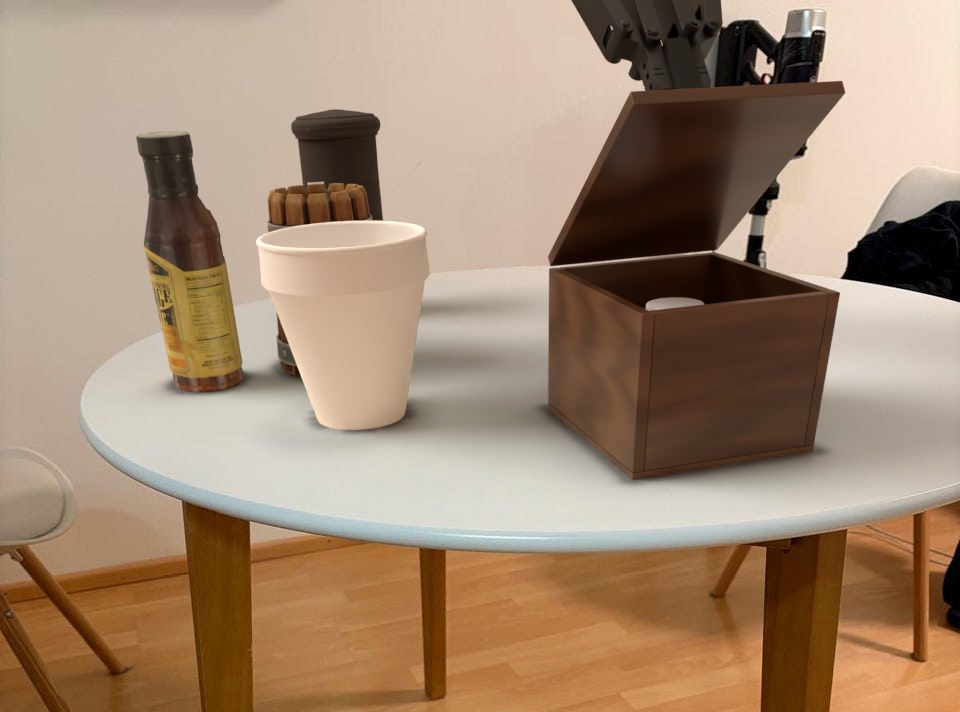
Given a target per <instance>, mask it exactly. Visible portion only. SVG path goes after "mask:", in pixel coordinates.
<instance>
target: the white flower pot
mask: <svg viewBox="0 0 960 712" xmlns="http://www.w3.org/2000/svg"><path fill="white" fill-rule="evenodd" d="M427 237H428V232H427V229H426V228H425V227H424V226H421V225H418V224H416V223H410V222H405V221H394V220H383V221H340V222H326V223H315V224H307V225H300V226H293V227H288V228H283V229H279V230H275V231H272V232H268V231H267V232H266V233H264V234H262V235H259V236H258V237H257V239H256V241H255V245H256V247H257V248H258V259H259V270H260V281H261V286H262V287H263V288H264V289H265V290H267V291H268V293H269V295H270V298H271V301H272V303H273V306H274V309H275V311H276V315H277V314H278V317H279V319H280V322H281V325H282V327H283V330H284V333H285V335H286V338H287V340H288V343H289V346H290V348H291V351H292V354H293V356H294V359H295V362H296V364H297V367H298V370H299V372H300V375H301V376H300V378H301V380H302V382H303V385H304V388H305V390H306V393H307V396H308V398H309V401H310V404H311V406H312V409H313V412H314V414H315V417H316V419H317V422H318V423H319V424H320V425H322V426H324V427H326V428H331V429H334V430H341V431H364V430H372V429H379V428H382V427H386V426H389V425H392V424H394V423H396V422H399V421H400V420H402V419H403V418H404V416H405V415H406V410H407V403H408V398H409V397H408V396H409V390H410V383H411V376H412V370H413V363H414V357H415V349H416V342H417V336H418V330H419V322H420V316H421V309H422V303H423V296H424V289H425V282H426V280H427V279H428V278H430V275H431V269H430V262H429V253H428V246H427Z"/></svg>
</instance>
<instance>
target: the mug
mask: <svg viewBox="0 0 960 712" xmlns="http://www.w3.org/2000/svg"><path fill="white" fill-rule="evenodd" d="M267 209H268V211H267V212H268V221H267V223H266V224H267V233H268V232H272V231H275V230H279V229H283V228H288V227H293V226H300V225H307V224H315V223H326V222H340V221H373V219H372V215H370V212H369V206H368V199H367V193H366V191H365V189H364V187H363V186H359V185H358V184H347V186H345V184H343V183H331V184H329V187H328V190H327V188H326V187H325V185H324V182H310V183H308V187H307V190H305V189H304V187H303V184H298V185H297V184H296V185H289V186H287V188H286V187H278V188H273V190H272V189H271V190H269V192H268V196H267ZM276 319H277V320H276V321H277V322H276V323H277V335H276V347H277V357H278V359H279V361H280V368H281V369H282V370H283V371H284V372H285V373H287V374H289V375H290V376H293V377H301V375H300V372H299V370H298V367H297V364H296V362H295V359H294V356H293V354H292V351H291V348H290V346H289V343H288V340H287V338H286V335H285V333H284V330H283V327H282V325H281V322H280V319H279V317H278V314H277V313H276Z"/></svg>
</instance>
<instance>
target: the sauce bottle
mask: <svg viewBox="0 0 960 712" xmlns="http://www.w3.org/2000/svg"><path fill="white" fill-rule="evenodd" d="M135 139H136V143H137V151H138V154H139V156H140V157H141V159H142V162H143V168H144V173H145V179H146V182H147V194H148V206H147V218H146V225H145V231H144V232H145V233H144V240H143V248H144V252H145V259H146V263H147V267H148V271H149V276H150V281H151V285H152V290H153V294H154V300H155V305H156V308H157V313H158V319H159V324H160V328H161V332H162V336H163V341H164V345H165V350H166V355H167V359H168V360H167V361H168V365H169V369H170V372H171V373H172V376H173V381H174V384H175V386H176V387H177V388H178V389H180V390H182V391H185V392H193V393H199V392H200V393H205V392H206V393H209V392H215V391H221V390H225V389H230V388H232V387H236V386H237V385H239V384H240V383H241V382H242V381H243V379H244V370H243V367H242V366H243V358H242V351H241V347H240V338H239V333H238V326H237V322H236V314H235V309H234V303H233V298H232V297H233V296H232V291H231V285H230V279H229V272H228V267H227V261H226V258H225V256H224V253H223V246H222V242H221V233H220V229H219V225H218V222H217V220H216V219H215V217H214V215H213V213H212V211H211V210H210V209H209V208H207V207H206V205H205V204H204V202H203V201H202V200H201V198H200V197H199V185H198V184H197V182H196V181H197V180H196V175H195V169H194V164H193V156H194V148H193V143H192V138H191V134H190V133H189V132H188V131H182V130H164V131H149V132H144V133H138V134H136V136H135Z"/></svg>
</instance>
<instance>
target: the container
mask: <svg viewBox="0 0 960 712" xmlns="http://www.w3.org/2000/svg"><path fill="white" fill-rule="evenodd" d="M290 125H291V126H290V129H291V130H290V131H291V132H292V135H293V136H294V137H295V139H296V140H297V145H298V153H299V154H298V155H299V163H300V171H301V181H302V182H301V183H302V185H303V187H304V189H305V190H307V187H308V183H310V182H324V185H325V187H326V188H327V190H328V187H329V184H331V183H343V184H345V186H347V184H358V185H359V186H363V187H364V189H365V191H366V193H367V199H368V206H369V212H370V215H372V219H373V221H384V215H383V205H382V195H381V185H380V172H379V161H378V148H377V136H378V134H379V131H380V129H381V121H380V118H379V117H378V116H376V115H375V114H374V113H371V112H363V111H356V110H348V109H340V108H339V109H336V108H334V109H333V108H332V109H327V110H322V111H318V112H312V113H307V114H305V115H299V116H296V117H295V119H294V120H293V121H292V122H291V124H290Z"/></svg>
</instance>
